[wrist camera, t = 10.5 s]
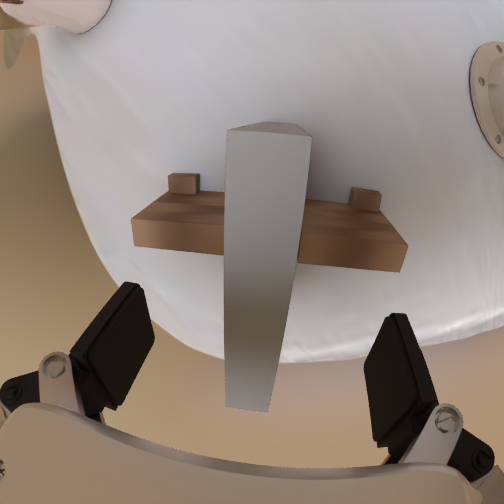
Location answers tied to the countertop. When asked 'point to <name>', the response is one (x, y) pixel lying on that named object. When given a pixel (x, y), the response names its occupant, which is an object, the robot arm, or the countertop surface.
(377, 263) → the walnut slotted plate
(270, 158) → the gray square panel
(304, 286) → the countertop surface
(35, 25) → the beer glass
